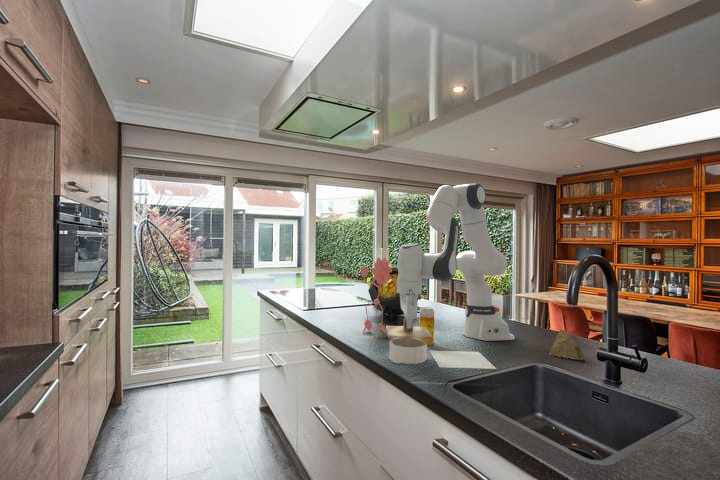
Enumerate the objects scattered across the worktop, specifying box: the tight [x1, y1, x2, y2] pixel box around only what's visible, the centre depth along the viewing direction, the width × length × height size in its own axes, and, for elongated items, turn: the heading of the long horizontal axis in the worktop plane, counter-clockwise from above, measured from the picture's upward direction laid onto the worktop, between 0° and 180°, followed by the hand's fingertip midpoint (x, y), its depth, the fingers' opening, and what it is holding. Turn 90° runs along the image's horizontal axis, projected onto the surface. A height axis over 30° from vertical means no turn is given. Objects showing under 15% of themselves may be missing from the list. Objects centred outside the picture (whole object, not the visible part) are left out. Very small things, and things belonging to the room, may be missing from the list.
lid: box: [385, 318, 433, 339], centre depth 133 cm, size 15×15×5 cm
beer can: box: [418, 306, 435, 346], centre depth 153 cm, size 6×6×15 cm
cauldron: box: [368, 264, 422, 321], centre depth 209 cm, size 28×28×24 cm
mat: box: [429, 350, 497, 370], centre depth 133 cm, size 19×19×1 cm
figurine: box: [360, 256, 397, 339], centre depth 169 cm, size 15×26×35 cm, turn 39°
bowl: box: [388, 338, 428, 365], centre depth 133 cm, size 13×13×6 cm
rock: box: [548, 328, 585, 361], centre depth 139 cm, size 11×9×10 cm
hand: (408, 326), depth 133 cm, fingers closed on lid, 3 cm apart
